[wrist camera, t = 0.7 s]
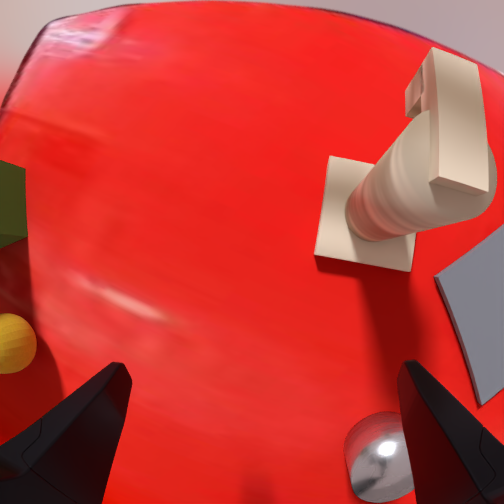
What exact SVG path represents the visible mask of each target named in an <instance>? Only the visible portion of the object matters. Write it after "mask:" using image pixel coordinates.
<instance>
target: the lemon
mask: <svg viewBox="0 0 504 504" xmlns="http://www.w3.org/2000/svg"><path fill="white" fill-rule="evenodd" d="M36 349H37V341H36V336H35V333H34V331H33V329H32V327H31V326H30V324H29V323H28V322H27V321H26V320H24V319H23V318H22V317H20V316H18V315H15V314H11V313H3V314H0V373H1V374H8V373H15V372H18V371H21V370H22V369H24V368H25V367H27V366H28V365H29V364H30V363H31V362H32V360H33V358H34V357H35V353H36Z"/></svg>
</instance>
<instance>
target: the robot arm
mask: <svg viewBox="0 0 504 504" xmlns="http://www.w3.org/2000/svg"><path fill="white" fill-rule="evenodd" d="M131 387H132V379H131V376H130V374H129V372H128V371H127V369H126V367H125V365H124V364H123V363H119V362H112V363H110V364H109V365H107V366H106V367H105V368H104V369H102V370H101V371H100V372H99V373H97V374H96V375H95V376H93V377H92V378H91V379H90V380H88V381H87V382H86V383H85V384H83V385H82V386H81V387H79V388H78V389H77V390H76V391H74V392H73V393H72V394H71V395H69V396H68V397H67V398H65V399H64V400H63V401H62V402H60V403H59V404H58V405H57V406H55V407H54V408H53V409H51V410H50V411H49V412H48V413H46V414H45V415H44V416H43V417H42V418H40V419H39V420H37V421H36V422H35V423H33V424H32V425H31V426H29V427H28V428H27V429H25V430H24V431H23V432H21V433H20V434H18V435H17V436H15V437H13V438H12V439H10V440H9V441H7V442H6V443H4V444H2V445H1V446H0V504H102V501H103V497H104V493H105V489H106V485H107V481H108V478H109V474H110V470H111V467H112V463H113V460H114V456H115V453H116V449H117V446H118V442H119V439H120V436H121V432H122V429H123V426H124V422H125V418H126V413H127V407H128V402H129V397H130V392H131ZM397 387H398V395H399V403H400V412H401V420H402V427H403V432H404V437H405V441H406V446H407V451H408V456H409V461H410V466H411V472H412V477H413V483H414V489H415V495H416V501H417V504H504V445H503V444H502V443H500V442H499V441H498V440H497V439H496V438H495V437H494V436H493V435H492V434H491V433H490V432H489V431H488V430H487V429H486V428H485V427H483V425H482V424H481V423H480V422H479V421H478V420H477V419H476V418H475V417H474V416H473V415H472V414H471V413H470V412H469V411H468V410H467V409H466V408H465V407H464V406H463V405H462V404H461V403H460V402H459V401H458V400H457V399H456V398H455V397H454V396H453V395H452V394H451V393H450V392H449V391H448V390H447V389H446V388H445V387H444V386H443V385H442V384H441V383H440V382H439V381H438V380H436V379H435V378H434V377H433V376H432V375H431V374H430V373H429V372H428V371H427V370H426V369H425V368H424V367H423V366H422V365H421V364H420V363H419V362H418V361H416V360H407V361H404V362H403V363H402V365H401V369H400V372H399V375H398V378H397Z"/></svg>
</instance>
